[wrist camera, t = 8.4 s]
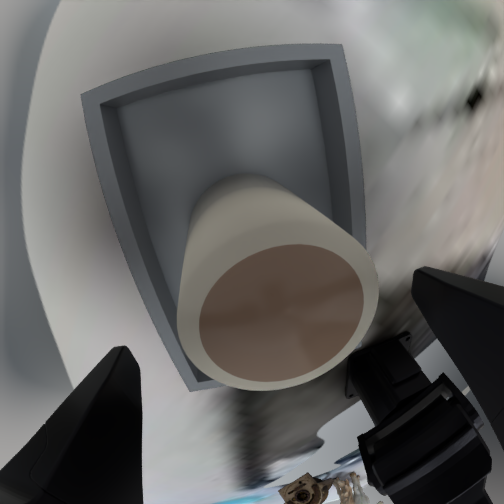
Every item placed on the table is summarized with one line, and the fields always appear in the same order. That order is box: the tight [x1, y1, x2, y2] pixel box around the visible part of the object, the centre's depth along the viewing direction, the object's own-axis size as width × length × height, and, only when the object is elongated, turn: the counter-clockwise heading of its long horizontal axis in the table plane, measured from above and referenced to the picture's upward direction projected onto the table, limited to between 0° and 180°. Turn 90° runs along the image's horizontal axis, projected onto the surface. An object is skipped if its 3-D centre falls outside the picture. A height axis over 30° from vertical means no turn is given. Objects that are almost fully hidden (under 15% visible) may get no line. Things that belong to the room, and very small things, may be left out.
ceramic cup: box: [177, 174, 379, 391], centre depth 11 cm, size 6×6×8 cm
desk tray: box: [81, 44, 366, 392], centre depth 14 cm, size 18×12×3 cm, turn 11°
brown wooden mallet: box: [278, 473, 333, 504], centre depth 32 cm, size 7×13×10 cm
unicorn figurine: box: [333, 472, 383, 504], centre depth 34 cm, size 7×20×13 cm, turn 50°
